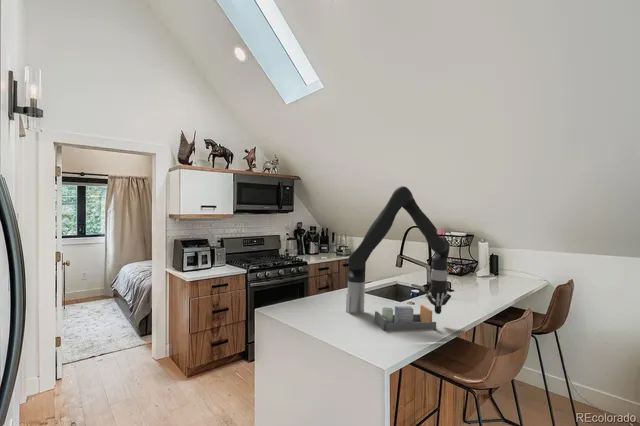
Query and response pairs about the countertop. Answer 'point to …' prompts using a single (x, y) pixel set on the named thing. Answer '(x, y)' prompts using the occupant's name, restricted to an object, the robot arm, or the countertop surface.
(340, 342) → the countertop surface
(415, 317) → the pusher lane
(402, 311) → the medicine box
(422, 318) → the pusher paddle
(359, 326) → the countertop surface
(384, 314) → the sage jar
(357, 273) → the robot arm
